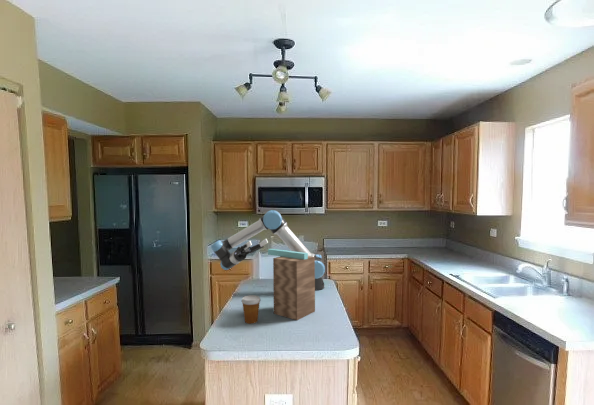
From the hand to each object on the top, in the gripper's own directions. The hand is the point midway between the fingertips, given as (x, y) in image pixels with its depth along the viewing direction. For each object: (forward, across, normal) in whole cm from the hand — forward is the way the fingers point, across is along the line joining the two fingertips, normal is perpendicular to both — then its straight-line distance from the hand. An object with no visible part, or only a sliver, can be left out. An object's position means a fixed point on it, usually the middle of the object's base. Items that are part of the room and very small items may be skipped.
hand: (259, 241), depth 192 cm
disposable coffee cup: (-3, +24, -41) cm, 47 cm away
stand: (+6, 0, -45) cm, 46 cm away
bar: (+16, +1, -17) cm, 23 cm away
